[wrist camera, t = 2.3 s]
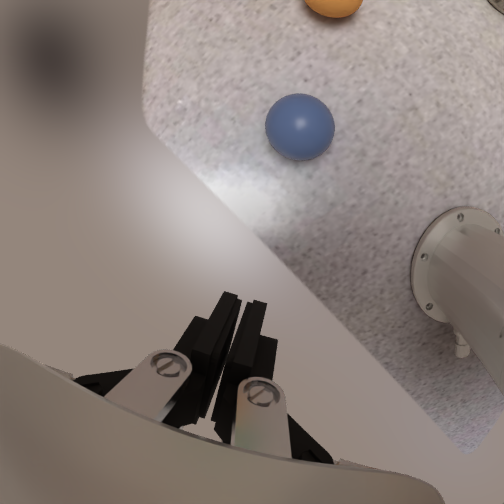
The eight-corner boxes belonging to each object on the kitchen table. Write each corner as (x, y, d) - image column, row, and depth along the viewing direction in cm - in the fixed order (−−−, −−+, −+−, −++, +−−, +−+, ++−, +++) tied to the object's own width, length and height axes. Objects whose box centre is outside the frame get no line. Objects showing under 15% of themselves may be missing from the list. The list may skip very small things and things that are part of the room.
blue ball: (338, 150, 25) (349, 148, 19) (280, 168, 26) (276, 169, 21) (318, 94, 23) (323, 77, 18) (260, 111, 25) (251, 99, 19)
